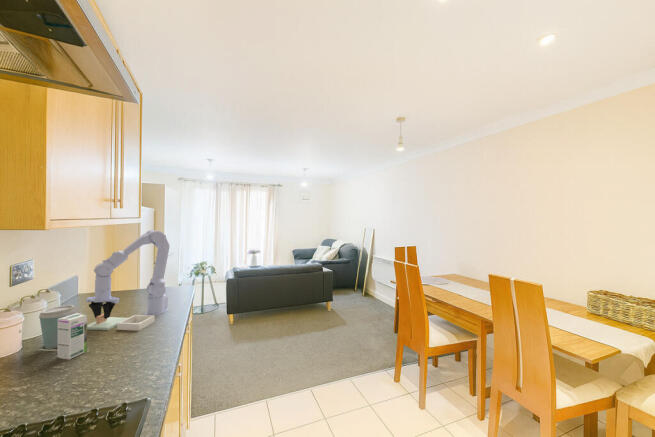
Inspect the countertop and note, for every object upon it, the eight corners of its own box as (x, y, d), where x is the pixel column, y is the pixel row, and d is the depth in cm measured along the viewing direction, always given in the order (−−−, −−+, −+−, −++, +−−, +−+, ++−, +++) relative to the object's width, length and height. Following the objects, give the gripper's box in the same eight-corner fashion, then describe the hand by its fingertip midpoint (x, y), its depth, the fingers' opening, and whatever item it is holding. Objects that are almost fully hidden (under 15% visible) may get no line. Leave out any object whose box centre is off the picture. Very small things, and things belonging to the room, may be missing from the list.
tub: (134, 321, 126) (134, 314, 126) (154, 322, 125) (154, 315, 125) (117, 330, 116) (117, 323, 116) (139, 331, 115) (139, 324, 115)
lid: (105, 320, 127) (105, 310, 127) (128, 321, 126) (128, 311, 126) (83, 330, 115) (83, 319, 115) (108, 331, 115) (108, 320, 115)
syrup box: (69, 360, 92) (70, 319, 92) (56, 357, 93) (57, 318, 93) (86, 352, 98) (87, 314, 98) (74, 349, 99) (75, 312, 99)
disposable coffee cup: (28, 352, 97) (29, 312, 97) (58, 338, 107) (59, 302, 107) (56, 353, 97) (57, 313, 96) (84, 339, 107) (84, 303, 107)
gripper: (79, 290, 117) (78, 320, 117) (110, 291, 117) (110, 321, 117) (94, 286, 124) (93, 314, 124) (123, 287, 124) (122, 315, 124)
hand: (102, 317), depth 121 cm, fingers open, 4 cm apart
